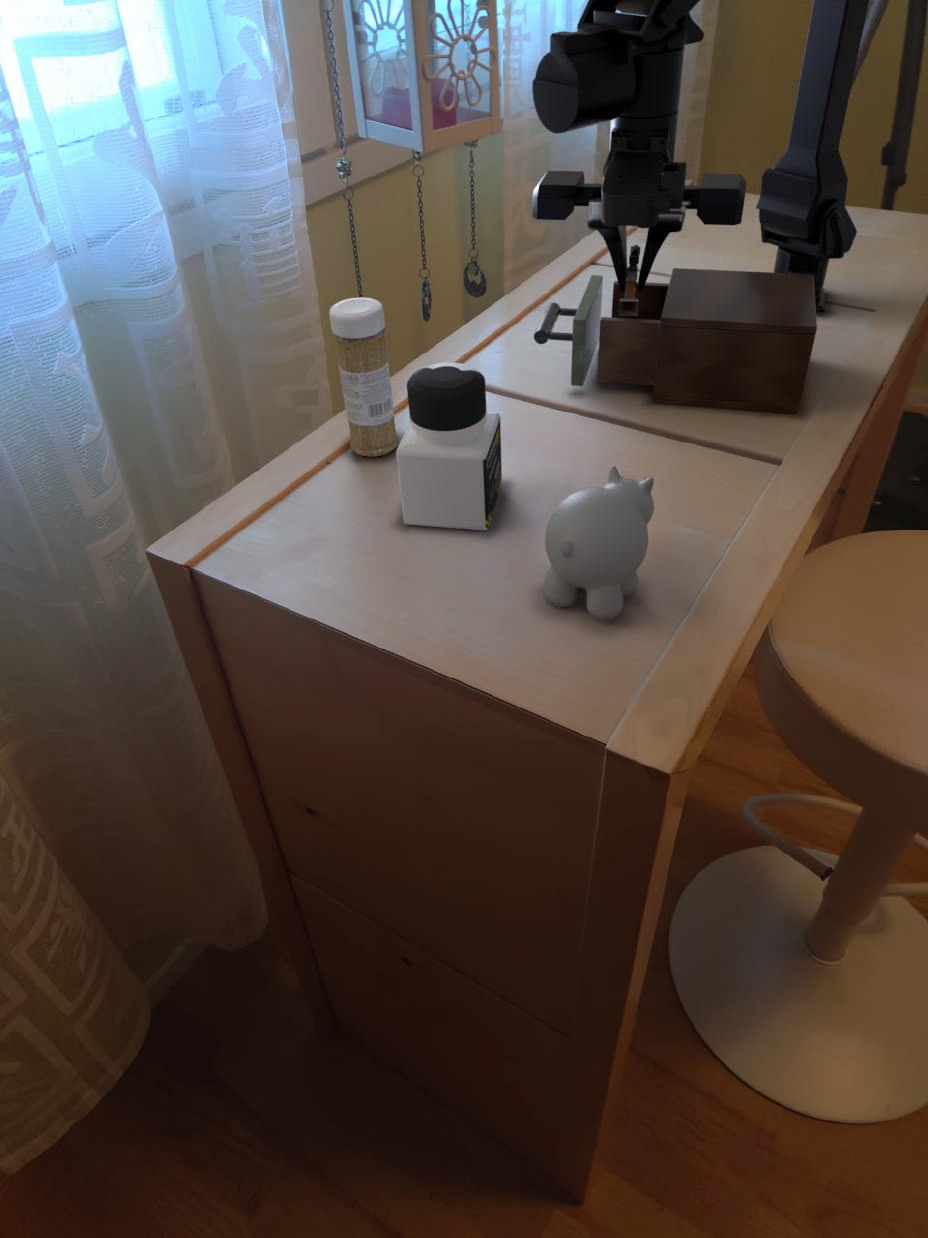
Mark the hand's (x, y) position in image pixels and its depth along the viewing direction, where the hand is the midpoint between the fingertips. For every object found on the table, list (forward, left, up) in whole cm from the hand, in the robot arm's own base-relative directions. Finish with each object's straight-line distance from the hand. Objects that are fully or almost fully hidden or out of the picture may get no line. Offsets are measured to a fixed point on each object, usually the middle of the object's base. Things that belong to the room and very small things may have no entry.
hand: (631, 290), depth 87 cm
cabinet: (0, +10, -9) cm, 13 cm away
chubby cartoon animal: (+34, +3, -9) cm, 35 cm away
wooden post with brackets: (0, 0, -1) cm, 1 cm away
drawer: (0, -1, -8) cm, 8 cm away
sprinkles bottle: (+19, -21, -9) cm, 30 cm away
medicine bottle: (+27, -11, -9) cm, 31 cm away
